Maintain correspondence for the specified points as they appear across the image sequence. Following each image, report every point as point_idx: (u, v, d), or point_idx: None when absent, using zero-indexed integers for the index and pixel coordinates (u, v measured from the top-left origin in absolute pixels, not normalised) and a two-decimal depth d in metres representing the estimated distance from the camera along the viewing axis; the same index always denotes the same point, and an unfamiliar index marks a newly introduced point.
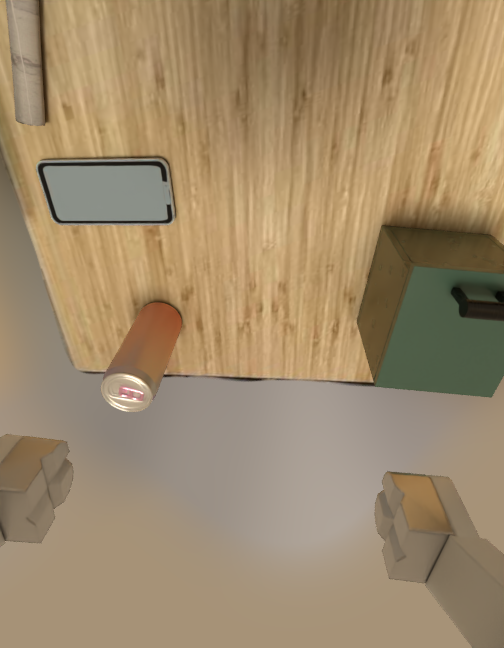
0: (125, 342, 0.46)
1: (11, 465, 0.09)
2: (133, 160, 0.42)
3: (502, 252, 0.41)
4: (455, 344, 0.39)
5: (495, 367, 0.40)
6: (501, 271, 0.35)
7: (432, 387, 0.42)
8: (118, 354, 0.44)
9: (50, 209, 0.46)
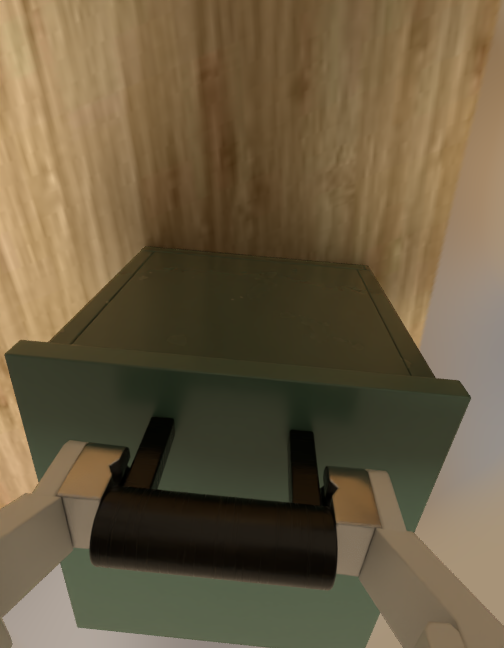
0: None
1: (81, 472, 0.09)
2: None
3: (366, 303, 0.17)
4: None
5: (349, 603, 0.15)
6: (293, 370, 0.11)
7: (212, 634, 0.17)
8: None
9: None
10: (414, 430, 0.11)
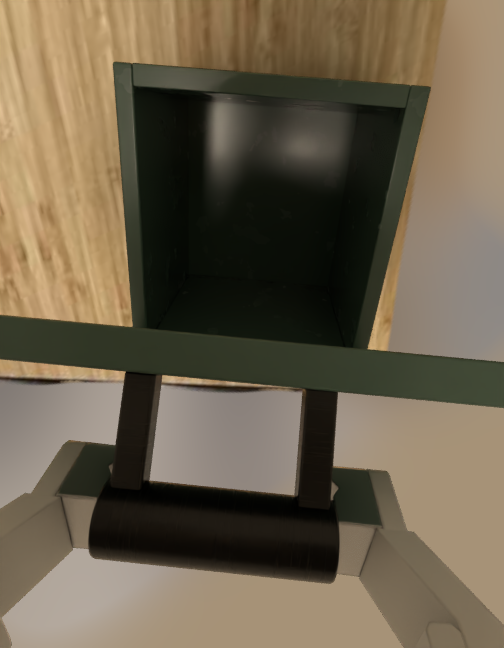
0: None
1: (80, 472, 0.09)
2: None
3: None
4: None
5: None
6: (315, 361, 0.07)
7: None
8: None
9: None
10: None
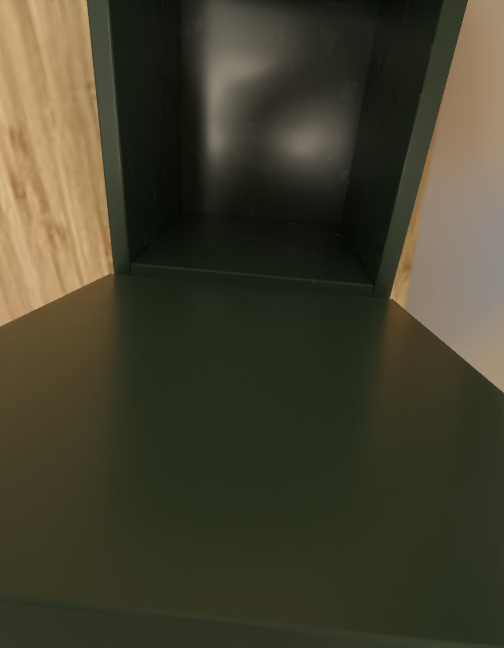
0: None
1: None
2: None
3: None
4: None
5: None
6: None
7: None
8: None
9: None
10: None
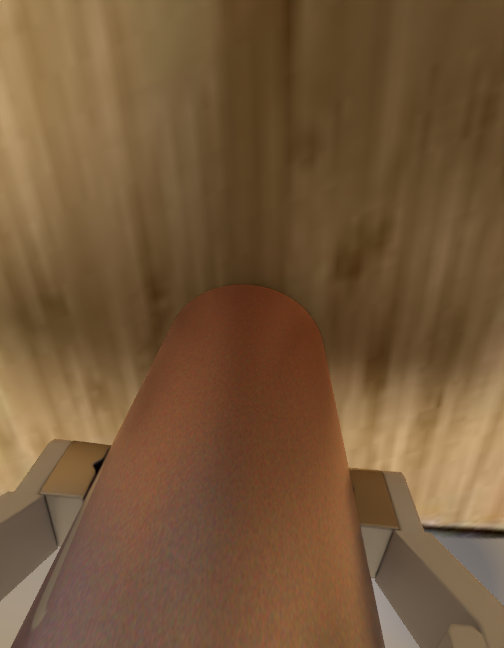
0: (107, 507, 0.06)
1: (65, 470, 0.09)
2: None
3: None
4: None
5: None
6: None
7: None
8: None
9: None
10: None
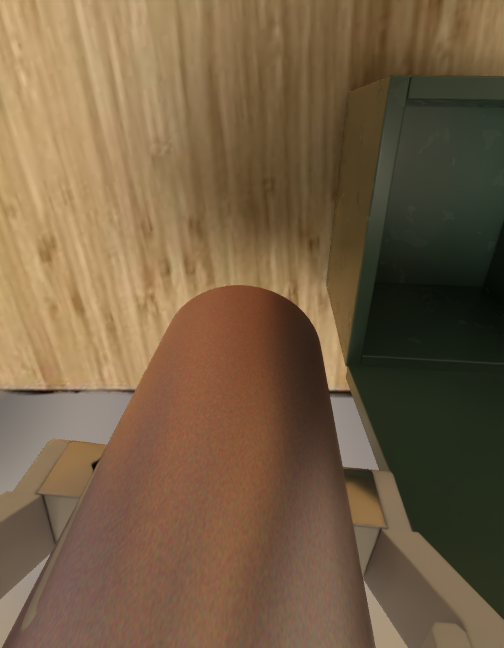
0: (98, 509, 0.06)
1: (63, 470, 0.09)
2: None
3: None
4: None
5: None
6: None
7: None
8: None
9: None
10: None
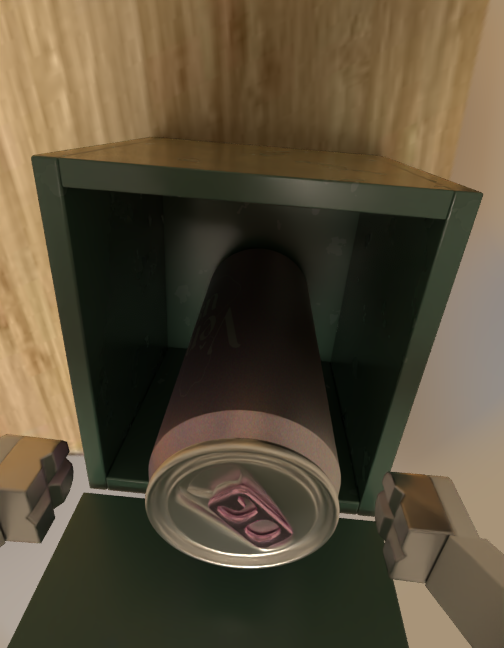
0: (253, 324, 0.15)
1: (11, 465, 0.09)
2: None
3: (385, 164, 0.16)
4: None
5: None
6: None
7: None
8: (252, 361, 0.13)
9: None
10: None
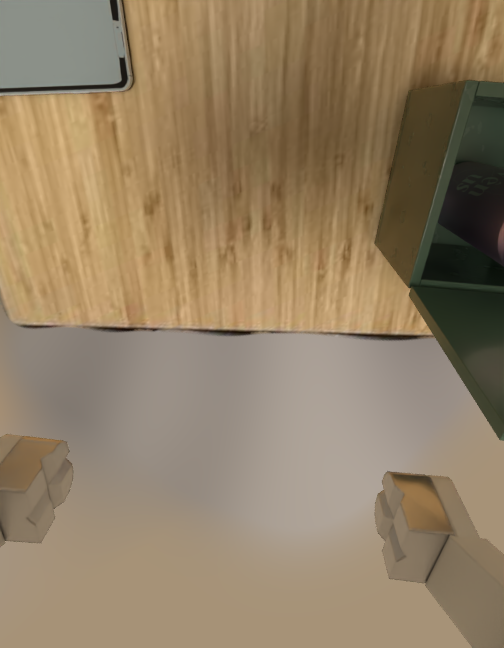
0: None
1: (11, 465, 0.09)
2: None
3: None
4: None
5: None
6: None
7: None
8: None
9: None
10: None
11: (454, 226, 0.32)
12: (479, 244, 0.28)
